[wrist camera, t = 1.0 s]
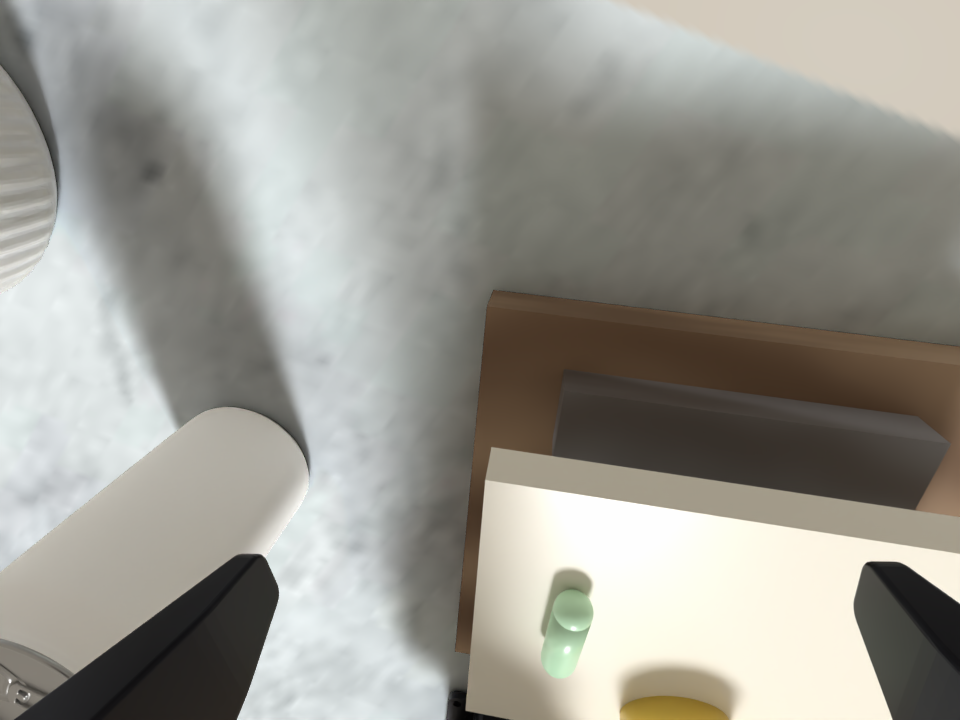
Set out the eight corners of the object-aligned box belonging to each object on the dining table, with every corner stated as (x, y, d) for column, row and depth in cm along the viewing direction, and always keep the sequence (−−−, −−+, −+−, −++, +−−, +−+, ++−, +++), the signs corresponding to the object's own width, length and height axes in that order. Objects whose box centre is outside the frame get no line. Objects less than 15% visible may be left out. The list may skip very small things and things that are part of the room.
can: (210, 376, 24) (-84, 588, 13) (335, 450, 24) (155, 708, 14) (170, 470, 26) (-101, 711, 16) (283, 534, 27) (99, 807, 16)
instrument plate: (844, 752, 22) (890, 891, 19) (469, 680, 24) (451, 797, 20) (1121, 541, 13) (1304, 733, 10) (491, 446, 15) (464, 586, 11)
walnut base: (818, 681, 26) (856, 763, 23) (462, 617, 28) (448, 684, 24) (997, 351, 19) (1093, 401, 15) (493, 289, 20) (480, 322, 17)
